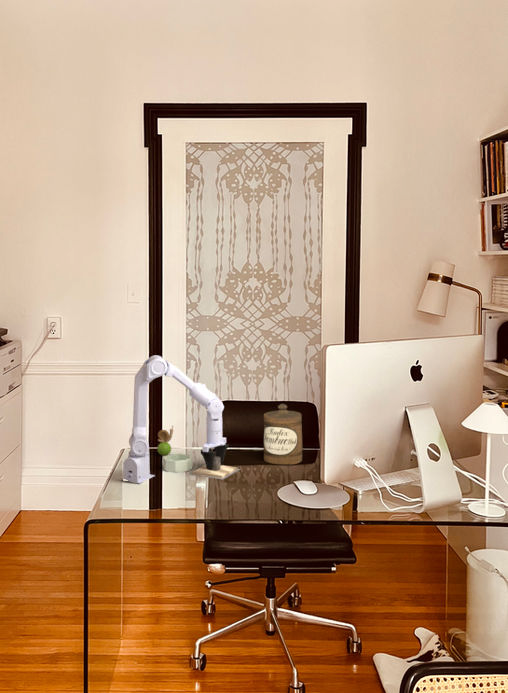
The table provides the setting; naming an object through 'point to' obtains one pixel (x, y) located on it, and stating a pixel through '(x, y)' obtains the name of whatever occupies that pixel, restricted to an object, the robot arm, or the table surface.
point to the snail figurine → (164, 442)
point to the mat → (215, 477)
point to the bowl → (177, 462)
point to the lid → (215, 470)
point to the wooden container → (283, 436)
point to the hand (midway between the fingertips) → (214, 466)
